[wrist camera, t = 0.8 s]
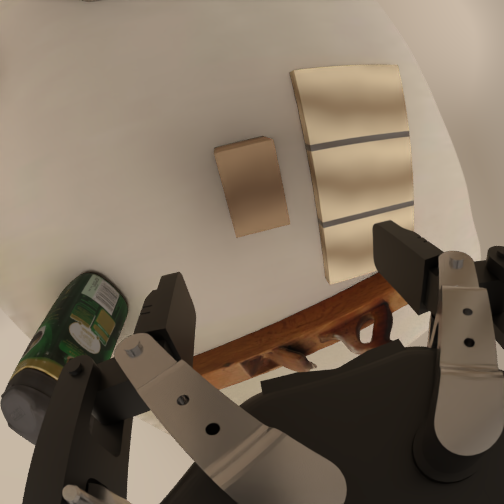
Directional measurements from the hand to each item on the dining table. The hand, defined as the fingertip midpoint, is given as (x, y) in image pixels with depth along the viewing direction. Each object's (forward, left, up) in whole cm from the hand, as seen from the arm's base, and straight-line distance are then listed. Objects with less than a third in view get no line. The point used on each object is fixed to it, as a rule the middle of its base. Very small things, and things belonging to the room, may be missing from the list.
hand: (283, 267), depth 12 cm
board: (+2, +12, -17) cm, 21 cm away
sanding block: (0, 0, -17) cm, 17 cm away
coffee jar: (+9, -21, -17) cm, 28 cm away
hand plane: (+19, 0, -17) cm, 26 cm away
